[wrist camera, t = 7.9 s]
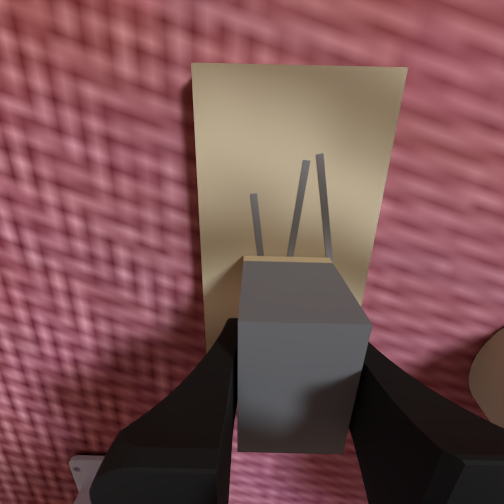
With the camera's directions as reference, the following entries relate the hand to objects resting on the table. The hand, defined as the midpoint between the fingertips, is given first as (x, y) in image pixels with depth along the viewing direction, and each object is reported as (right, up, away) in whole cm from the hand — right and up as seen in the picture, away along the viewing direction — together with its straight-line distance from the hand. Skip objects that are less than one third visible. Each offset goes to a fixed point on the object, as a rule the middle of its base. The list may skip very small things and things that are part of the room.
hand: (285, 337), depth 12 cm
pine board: (0, +4, +2) cm, 4 cm away
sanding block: (0, +1, +1) cm, 2 cm away
